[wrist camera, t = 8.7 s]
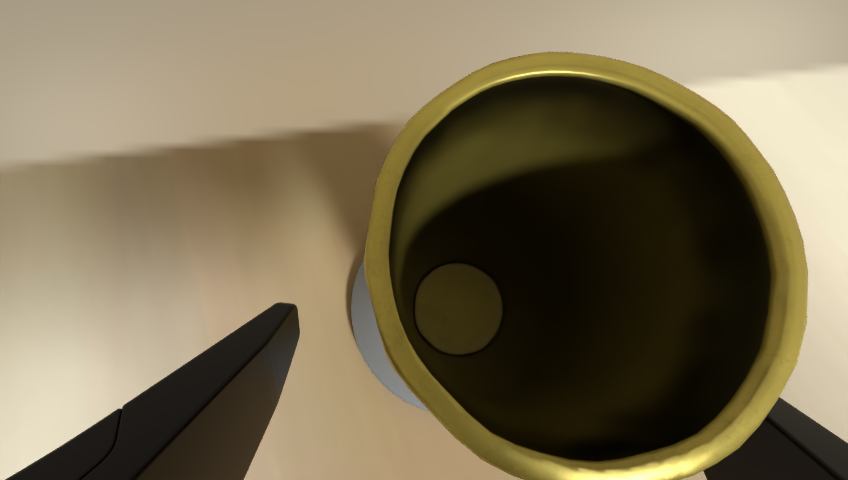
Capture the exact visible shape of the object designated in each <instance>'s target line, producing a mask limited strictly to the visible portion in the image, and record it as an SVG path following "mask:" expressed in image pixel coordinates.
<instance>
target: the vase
mask: <svg viewBox="0 0 848 480" xmlns="http://www.w3.org/2000/svg"><path fill="white" fill-rule="evenodd" d="M364 269H365V280H366V283H367V287H368V290H369V294H370V298H371V303H372V307H373V311H374V315H375V319H376V323H377V327H378V330H379V333H380V337H381V340H382V344H383V348H384V352H385V355H386V357H387V359H388V361H389V363H390V366H391V367H392V368H393V369H394V371H395V372H396V373H397V375H398V376H399V377H400V378H401V380H402V381H403V382H404V384H405V385H406V386H407V388H408V389H409V390H410V391H411V392H412V393H413V394H414V395H415V396H416V398H417V399H418V400H419V401H420V402H421V403H422V404H423V405H424V406H425V407H426V408H427V409H428V410H429V411H430V412H431V413H432V414H433V415H434V416H435V418H436V419H437V420H438V421H439V422H440V423H441V424H442V425H443V426H444V427H445V428H446V429H447V430H448V431H449V432H450V433H451V434H452V435H453V436H454V437H455V438H456V439H457V440H459V441H460V442H461V443H462V444H463V445H465V446H466V447H467V448H468V449H470V450H471V451H472V452H473V453H474V454H476V455H477V456H478V457H479V458H480V459H482V460H483V461H485V462H487V463H489V464H491V465H493V466H495V467H497V468H499V469H501V470H502V471H504V472H506V473H508V474H510V475H513V476H516V477H519V478H521V479H524V480H680V479H683V478H687V477H690V476H693V475H695V474H697V473H699V472H701V471H703V470H705V469H707V468H709V467H711V466H713V465H715V464H717V463H718V462H720V461H721V460H722V459H724V458H725V457H727V456H728V455H730V454H731V453H732V452H734V451H735V450H737V449H738V448H740V446H741V445H742V444H743V443H744V442H745V441H746V440H747V439H748V438H749V437H750V436H751V435H752V434H753V432H754V431H755V430H756V429H757V428H758V427H759V426H760V425H761V423H762V422H763V420H764V419H765V417H766V416H767V414H768V413H769V412H770V410H771V409H772V407H773V406H774V404H775V403H776V402H777V400H778V398H779V396H780V394H781V393H782V391H783V389H784V387H785V385H786V383H787V381H788V379H789V377H790V376H791V374H792V372H793V370H794V368H795V366H796V364H797V361H798V357H799V353H800V349H801V345H802V340H803V336H804V332H805V328H806V324H807V292H808V269H807V263H806V256H805V250H804V244H803V239H802V236H801V233H800V230H799V227H798V223H797V220H796V217H795V214H794V212H793V210H792V207H791V205H790V203H789V200H788V198H787V196H786V194H785V191H784V189H783V188H782V186H781V184H780V182H779V180H778V178H777V176H776V174H775V172H774V171H773V169H772V167H771V166H770V165H769V163H768V162H767V161H766V159H765V158H764V157H763V155H762V154H761V153H760V151H759V150H758V149H757V148H756V146H755V145H754V144H753V142H752V141H751V140H750V139H749V137H748V136H747V135H746V134H745V132H744V131H743V130H742V129H741V128H740V127H739V126H738V125H737V124H736V123H735V122H734V121H733V120H732V119H731V118H730V117H729V116H728V115H726V114H725V113H724V112H723V111H721V110H720V109H719V108H718V107H716V106H715V105H713V104H712V103H710V102H709V101H707V100H706V99H704V98H703V97H701V96H700V95H698V94H696V93H695V92H693V91H691V90H689V89H688V88H686V87H684V86H683V85H681V84H679V83H677V82H675V81H673V80H671V79H669V78H667V77H665V76H663V75H661V74H659V73H656V72H654V71H651V70H649V69H647V68H644V67H641V66H637V65H634V64H631V63H628V62H625V61H621V60H616V59H612V58H606V57H602V56H596V55H588V54H581V53H572V52H544V53H536V54H528V55H523V56H518V57H513V58H509V59H506V60H502V61H499V62H496V63H492V64H490V65H487V66H485V67H483V68H481V69H479V70H477V71H475V72H472V73H471V74H469V75H468V76H466V77H464V78H463V79H461V80H460V81H458V82H456V83H455V84H453V85H452V86H450V87H449V88H447V89H446V90H444V91H443V92H441V93H440V94H439V95H437V96H436V97H435V98H433V99H432V100H431V101H430V102H428V103H427V104H426V105H424V106H423V107H422V108H421V109H420V110H419V111H418V112H417V113H416V114H415V115H414V116H413V117H412V118H411V119H410V120H409V121H408V123H407V124H406V125H405V127H404V128H403V130H402V131H401V133H400V134H399V136H398V137H397V139H396V141H395V142H394V144H393V146H392V148H391V150H390V151H389V153H388V155H387V157H386V159H385V161H384V163H383V166H382V168H381V171H380V173H379V176H378V178H377V181H376V185H375V192H374V198H373V204H372V210H371V215H370V221H369V226H368V233H367V240H366V247H365V253H364Z"/></svg>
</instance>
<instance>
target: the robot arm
mask: <svg viewBox="0 0 848 480" xmlns="http://www.w3.org/2000/svg"><path fill="white" fill-rule="evenodd" d="M299 334H300V328H299V319H298V310H297V307H296V305H295V304H290V303H281V302H280V303H276V304H274V305H273V306H271V307H270V308H268V309H267V310H265V311H264V312H262V313H261V314H259V315H258V316H256V317H255V318H253V319H252V320H250V321H249V322H247V323H246V324H244V325H243V326H241V327H240V328H238V329H237V330H235V331H234V332H232V333H231V334H229V335H228V336H226V337H225V338H224V339H222V340H221V341H219V342H218V343H216V344H215V345H213V346H212V347H210V348H209V349H207V350H206V351H204V352H203V353H201V354H200V355H198V356H197V357H195V358H194V359H192V360H191V361H189V362H188V363H186V364H185V365H183V366H182V367H180V368H179V369H177V370H176V371H174V372H173V373H171V374H170V375H168V376H167V377H165V378H164V379H162V380H161V381H159V382H158V383H156V384H155V385H153V386H152V387H150V388H149V389H147V390H146V391H144V392H143V393H141V394H140V395H138V396H137V397H135V398H134V399H132V400H131V401H129V402H128V403H126V404H125V405H124V406H123V407H122V409H117V410H116V411H114V412H113V413H111V414H110V415H108V416H107V417H105V418H104V419H102V420H101V421H99V422H98V423H96V424H95V425H93V426H91V427H90V428H88V429H87V430H85V431H84V432H82V433H81V434H79V435H77V436H76V437H74V438H73V439H71V440H70V441H68V442H67V443H65V444H63V445H62V446H60V447H59V448H57V449H55V450H54V451H52V452H51V453H49V454H47V455H46V456H44V457H42V458H41V459H39V460H37V461H36V462H34V463H32V464H31V465H29V466H27V467H26V468H24V469H22V470H21V471H19V472H17V473H16V474H14V475H12V476H11V477H9V478H7V479H6V480H244V478H245V475H246V473H247V471H248V469H249V466H250V464H251V462H252V460H253V458H254V455H255V453H256V451H257V449H258V446H259V444H260V442H261V440H262V438H263V435H264V433H265V431H266V429H267V426H268V424H269V422H270V420H271V418H272V415H273V413H274V411H275V408H276V406H277V404H278V401H279V398H280V395H281V392H282V389H283V386H284V383H285V380H286V377H287V374H288V371H289V368H290V365H291V362H292V358H293V355H294V352H295V349H296V346H297V343H298V340H299ZM703 471H704V473H705V476H706V478H707V480H848V443H847V442H845V441H844V440H842V439H841V438H839V437H838V436H836V435H835V434H833V433H832V432H830V431H829V430H827V429H826V428H824V427H823V426H821V425H820V424H818V423H817V422H815V421H814V420H813V419H811V418H810V417H808V416H807V415H805V414H804V413H802V412H801V411H799V410H798V409H796V408H795V407H793V406H792V405H790V404H789V403H787V402H786V401H784V400H783V399H781V398H780V397H779V398H778V400H777V402H776V403H775V404H774V406H773V407H772V409H771V410H770V412H769V413H768V414H767V416H766V417H765V419H764V420H763V422H762V423H761V425H760V426H759V427H758V428H757V429H756V430H755V431H754V432H753V434H752V435H751V436H750V437H749V438H748V439H747V440H746V441H745V442H744V443H743V444H742V445H741V446H740V448H738V449H737V450H735V451H734V452H732V453H731V454H730V455H728V456H727V457H725V458H724V459H722V460H721V461H720V462H718V463H717V464H715V465H713V466H711V467H709V468H707V469H705V470H703Z"/></svg>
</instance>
